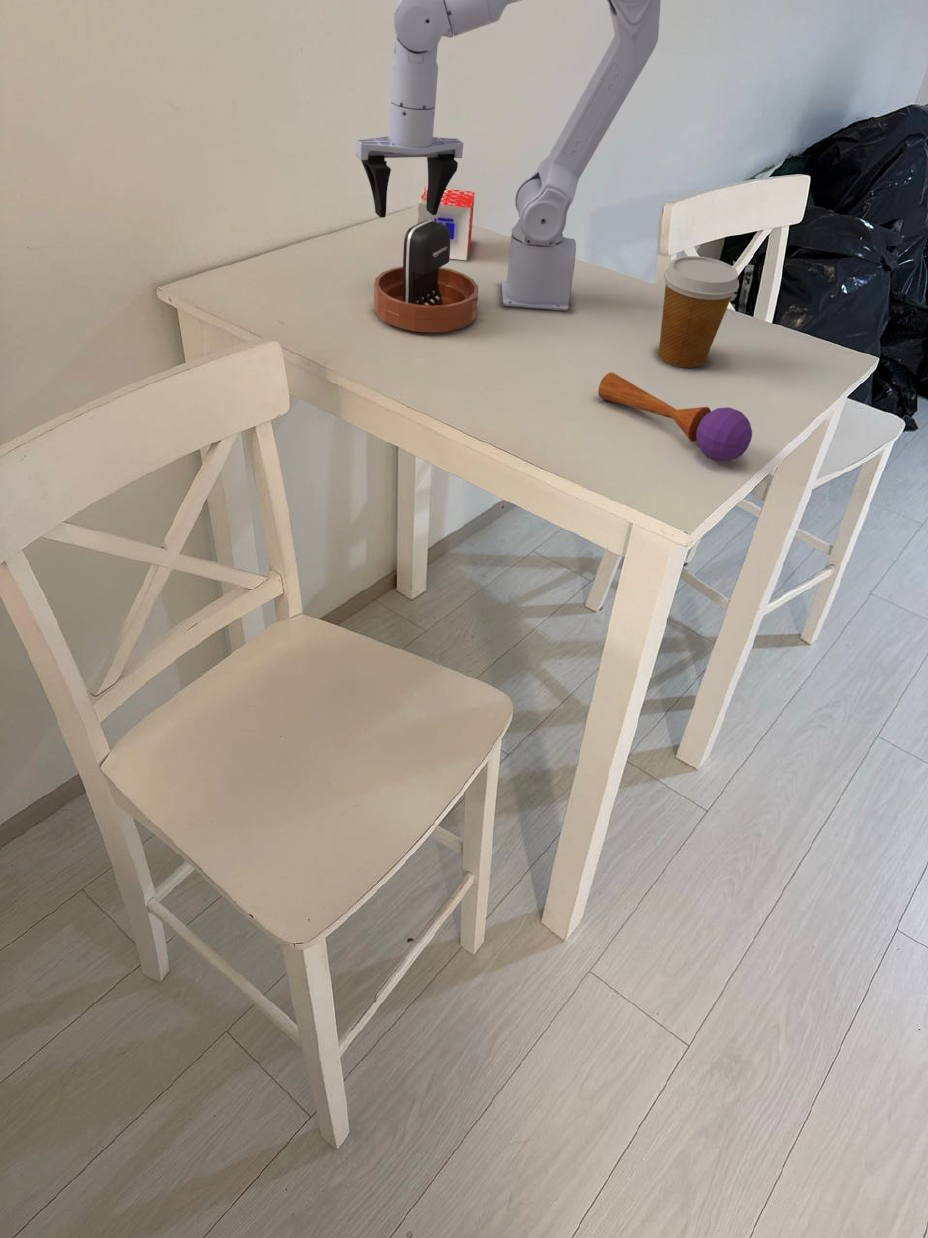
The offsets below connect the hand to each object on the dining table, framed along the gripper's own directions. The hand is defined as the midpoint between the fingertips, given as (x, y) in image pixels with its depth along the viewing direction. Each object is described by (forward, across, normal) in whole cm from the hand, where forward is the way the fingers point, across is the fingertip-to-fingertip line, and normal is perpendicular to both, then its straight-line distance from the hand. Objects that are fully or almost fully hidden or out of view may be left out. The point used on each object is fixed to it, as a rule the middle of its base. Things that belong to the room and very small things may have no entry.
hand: (406, 213), depth 125 cm
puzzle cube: (+11, -13, -14) cm, 22 cm away
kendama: (+10, -15, +46) cm, 50 cm away
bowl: (+11, 0, +8) cm, 13 cm away
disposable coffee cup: (+10, -28, +30) cm, 43 cm away
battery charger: (+10, 0, +8) cm, 13 cm away
